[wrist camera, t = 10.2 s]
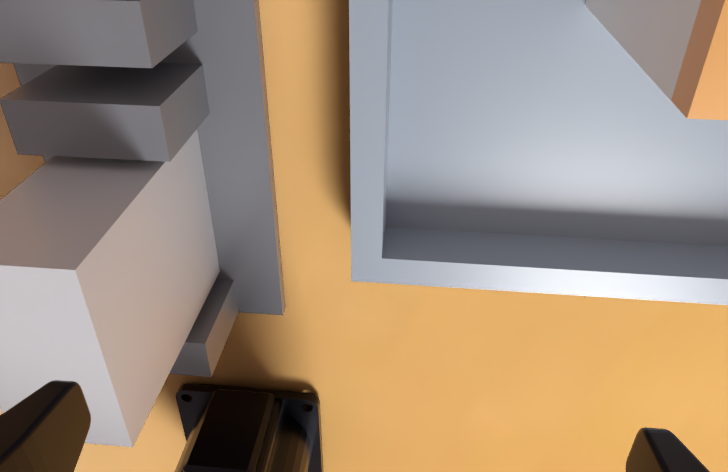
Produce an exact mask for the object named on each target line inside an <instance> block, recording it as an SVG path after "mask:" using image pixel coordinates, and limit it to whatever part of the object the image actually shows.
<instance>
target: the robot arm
mask: <svg viewBox="0 0 728 472" xmlns="http://www.w3.org/2000/svg"><path fill="white" fill-rule="evenodd" d="M176 400H177V404H178V408H179V412H180V416H181V420H182V424H183V428H184V432H185V436H186V440H187V443H186V445H185V448H184V450H183V453H182V455H181V458H180V460H179V462H178V465H177V467H176V470H175V472H323V454H322V435H321V416H320V401H319V398H318V397H317V396H315V395H313V394H310V393H300V392H287V391H275V390H262V389H249V388H237V387H224V386H211V385H199V384H183V385H181V386H180V387H179V389H178V391H177V393H176ZM308 404H309V405H308ZM90 424H91V414H90V411H89V408H88V405H87V403H86V400H85V397H84V394H83V391H82V389H81V386H80V385H79V384H78V383H77V382H74V381H63V380H53V381H51V382H48V383H47V384H45V385H44V386H42V387H41V388H39V389H38V390H36V391H35V392H34V393H32V394H31V395H29V396H28V397H26V398H25V399H23V400H22V401H20V402H19V403H17V404H16V405H15V406H13V407H12V408H10V409H9V410H7V411H6V412H4V413H3V414H1V415H0V472H74V469H75V467H76V464H77V461H78V459H79V456H80V453H81V451H82V448H83V445H84V442H85V440H86V437H87V434H88V432H89V428H90ZM626 472H710V471H709V470H708V469H707V468H706V467H705V466H704V465H703V464H702V463H701V462H700V461H699V460H698V459H697V458H696V457H695V456H694V455H693V454H692V453H691V452H690V451H689V450H688V448H687V447H686V446H685V445H684V444H683V443H682V442H681V441H680V440H679V439H678V438H677V437H676V436H675V435H674V434H673V433H672V432H670V431H669V430H666V429H658V428H641V429H640V430H639V431H638V433H637V435H636V438H635V440H634V443H633V445H632V448H631V450H630V453H629V455H628V458H627V461H626Z"/></svg>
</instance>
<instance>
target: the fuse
mask: <svg viewBox="0 0 728 472" xmlns="http://www.w3.org/2000/svg"><path fill="white" fill-rule="evenodd" d="M219 272H220V269H219V263H218V256H217V250H216V244H215V237H214V231H213V225H212V219H211V212H210V206H209V200H208V193H207V187H206V181H205V175H204V168H203V162H202V156H201V149H200V143H199V137H198V131H197V130H196V131H195V132H194V133H193V134H192V136H191V137H190V138H189V139H188V141H187V142H186V143H185V144H184V145H183V147H182V148H181V149H180V150H179V152H178V153H177V154H176V155H175V157H174V158H173V159H172V160H171V161H170V162H164V161H144V160H123V159H103V158H83V157H63V156H53V157H52V158H50V159H49V160H48V161H47V162H46V163H44V164H43V165H42V166H41V167H40V168H38V169H37V170H36V171H35V172H34V173H32V174H31V175H30V176H29V177H28V178H26V179H25V180H24V181H23V182H22V183H20V184H19V185H18V186H17V187H16V188H14V189H13V190H12V191H11V192H10V193H8V194H7V195H6V196H5V197H4V198H2V199H1V200H0V409H1V411H2V413H4V412H6V411H7V410H9V409H10V408H12V407H13V406H15V405H16V404H17V403H19V402H20V401H22V400H23V399H25V398H26V397H28V396H29V395H31V394H32V393H34V392H35V391H36V390H38V389H39V388H41V387H42V386H44V385H45V384H47V383H48V382H51V381H53V380H63V381H74V382H77V383H78V384H79V385H80V386H81V389H82V391H83V394H84V397H85V400H86V403H87V405H88V408H89V411H90V414H91V424H90V428H89V432H88V434H87V437H86V440H85V442H84V443H91V444H102V445H114V446H125V447H133V446H134V444H135V442H136V440H137V438H138V436H139V433H140V431H141V429H142V427H143V425H144V423H145V421H146V419H147V417H148V415H149V413H150V411H151V409H152V407H153V405H154V403H155V401H156V399H157V397H158V395H159V393H160V391H161V389H162V387H163V385H164V383H165V381H166V379H167V377H168V375H169V373H170V371H171V369H172V367H173V365H174V363H175V361H176V359H177V357H178V355H179V353H180V351H181V349H182V347H183V345H184V343H185V341H186V339H187V337H188V335H189V333H190V331H191V329H192V327H193V324H194V322H195V320H196V318H197V316H198V314H199V312H200V310H201V308H202V306H203V304H204V302H205V300H206V298H207V296H208V294H209V292H210V290H211V288H212V286H213V284H214V282H215V280H216V278H217V276H218V274H219Z"/></svg>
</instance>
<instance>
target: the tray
mask: <svg viewBox="0 0 728 472" xmlns="http://www.w3.org/2000/svg"><path fill="white" fill-rule="evenodd" d="M585 3H586V0H349V62H350V180H351V281H360V282H375V283H391V284H407V285H422V286H438V287H454V288H469V289H485V290H500V291H516V292H532V293H547V294H563V295H578V296H594V297H610V298H625V299H641V300H657V301H672V302H688V303H703V304H719V305H728V120H708V119H687V118H686V117H685V116H684V115H683V114H682V113H681V111H680V110H679V109H678V108H677V107H676V106H675V105H674V104H673V103H672V101H671V100H670V99H669V98H668V97H667V96H666V95H665V94H664V93H663V91H662V90H661V89H660V88H659V87H658V86H657V85H656V84H655V83H654V81H653V80H652V79H651V78H650V77H649V76H648V75H647V74H646V73H645V71H644V70H643V69H642V68H641V67H640V66H639V65H638V64H637V63H636V61H635V60H634V59H633V58H632V57H631V56H630V55H629V54H628V53H627V51H626V50H625V49H624V48H623V47H622V46H621V45H620V44H619V43H618V41H617V40H616V39H615V38H614V37H613V36H612V35H611V34H610V33H609V31H608V30H607V29H606V28H605V27H604V26H603V25H602V24H601V23H600V22H599V20H598V19H597V18H596V17H595V16H594V15H593V14H592V13H591V12H590V10H589V9H588V8H587V7H586V6H585Z"/></svg>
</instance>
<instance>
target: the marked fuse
mask: <svg viewBox="0 0 728 472" xmlns="http://www.w3.org/2000/svg"><path fill="white" fill-rule="evenodd" d="M585 6H586V7H587V8H588V9H589V10H590V12H591V13H592V14H593V15H594V16H595V17H596V18H597V19H598V20H599V22H600V23H601V24H602V25H603V26H604V27H605V28H606V29H607V30H608V31H609V33H610V34H611V35H612V36H613V37H614V38H615V39H616V40H617V41H618V43H619V44H620V45H621V46H622V47H623V48H624V49H625V50H626V51H627V53H628V54H629V55H630V56H631V57H632V58H633V59H634V60H635V61H636V63H637V64H638V65H639V66H640V67H641V68H642V69H643V70H644V71H645V73H646V74H647V75H648V76H649V77H650V78H651V79H652V80H653V81H654V83H655V84H656V85H657V86H658V87H659V88H660V89H661V90H662V91H663V93H664V94H665V95H666V96H667V97H668V98H669V99H670V100H671V101H672V103H673V104H674V105H675V106H676V107H677V108H678V109H679V110H680V111H681V113H682V114H683V115H684V116H685V117H686V118H687V119H708V120H728V0H586V3H585Z"/></svg>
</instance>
